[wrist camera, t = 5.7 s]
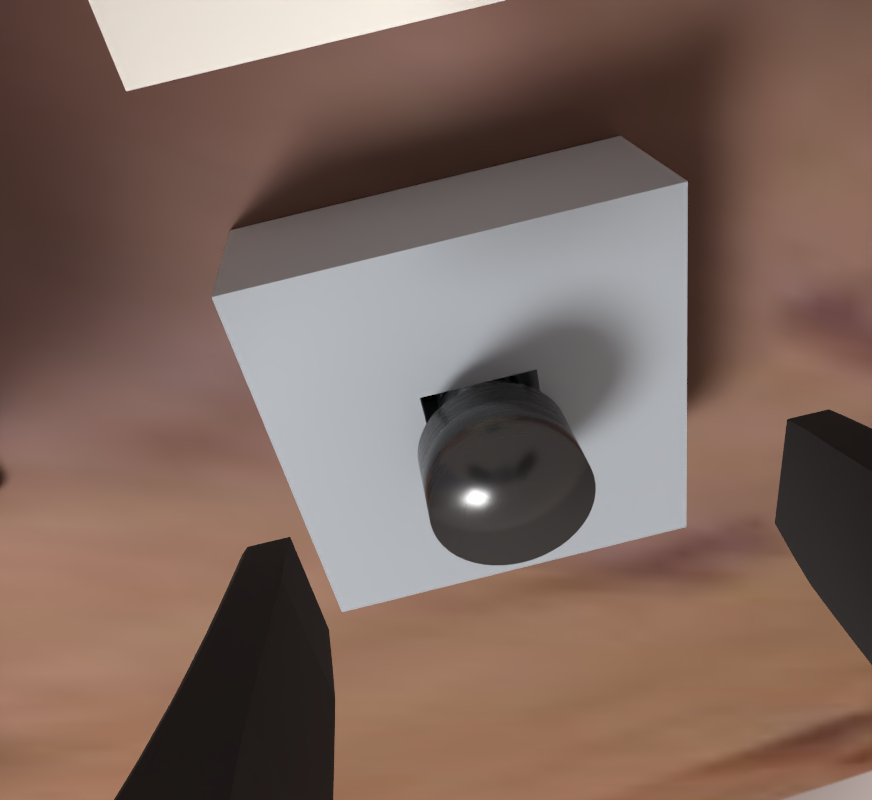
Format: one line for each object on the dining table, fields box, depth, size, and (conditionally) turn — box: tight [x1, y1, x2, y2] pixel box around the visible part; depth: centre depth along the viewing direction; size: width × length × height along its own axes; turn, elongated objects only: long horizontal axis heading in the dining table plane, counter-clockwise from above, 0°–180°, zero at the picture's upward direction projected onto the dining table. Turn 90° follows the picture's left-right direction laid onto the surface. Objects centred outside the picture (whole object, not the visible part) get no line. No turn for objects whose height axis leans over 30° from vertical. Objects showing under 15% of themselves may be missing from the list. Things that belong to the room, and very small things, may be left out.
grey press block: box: [212, 136, 688, 612], centre depth 19 cm, size 10×10×4 cm
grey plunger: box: [418, 376, 596, 565], centre depth 18 cm, size 4×4×6 cm
